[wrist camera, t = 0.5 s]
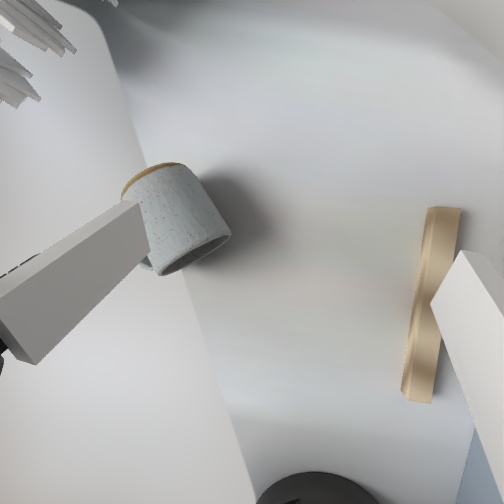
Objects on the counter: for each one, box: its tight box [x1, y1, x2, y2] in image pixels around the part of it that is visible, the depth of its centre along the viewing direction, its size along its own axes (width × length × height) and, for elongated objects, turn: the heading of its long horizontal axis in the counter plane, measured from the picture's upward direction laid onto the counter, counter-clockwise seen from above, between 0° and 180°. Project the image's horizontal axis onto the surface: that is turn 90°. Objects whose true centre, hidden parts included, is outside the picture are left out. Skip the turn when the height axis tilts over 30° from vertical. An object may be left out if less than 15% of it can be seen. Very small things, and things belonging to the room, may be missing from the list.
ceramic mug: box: [121, 162, 232, 276], centre depth 25 cm, size 11×8×8 cm
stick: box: [401, 207, 461, 404], centre depth 25 cm, size 18×2×2 cm, turn 174°
